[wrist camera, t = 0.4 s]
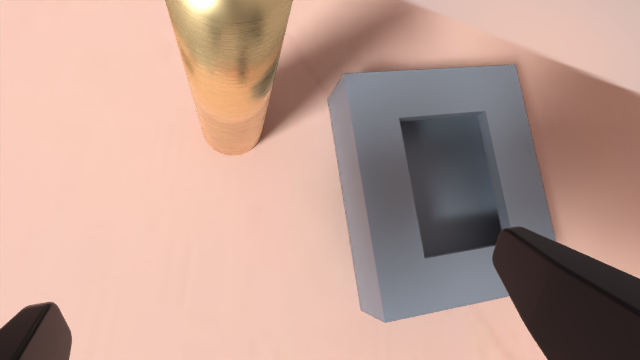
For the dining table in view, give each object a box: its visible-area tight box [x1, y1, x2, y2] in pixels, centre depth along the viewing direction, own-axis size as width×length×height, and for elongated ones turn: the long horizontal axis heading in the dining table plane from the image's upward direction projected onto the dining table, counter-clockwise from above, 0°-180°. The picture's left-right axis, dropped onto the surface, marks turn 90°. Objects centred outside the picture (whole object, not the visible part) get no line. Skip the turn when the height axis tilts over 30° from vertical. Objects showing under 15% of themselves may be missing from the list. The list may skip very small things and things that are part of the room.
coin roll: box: [165, 0, 293, 155], centre depth 15 cm, size 3×3×13 cm
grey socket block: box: [328, 65, 556, 323], centre depth 21 cm, size 12×10×4 cm
